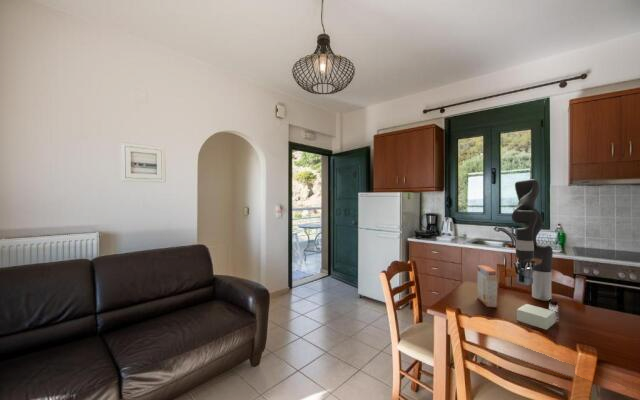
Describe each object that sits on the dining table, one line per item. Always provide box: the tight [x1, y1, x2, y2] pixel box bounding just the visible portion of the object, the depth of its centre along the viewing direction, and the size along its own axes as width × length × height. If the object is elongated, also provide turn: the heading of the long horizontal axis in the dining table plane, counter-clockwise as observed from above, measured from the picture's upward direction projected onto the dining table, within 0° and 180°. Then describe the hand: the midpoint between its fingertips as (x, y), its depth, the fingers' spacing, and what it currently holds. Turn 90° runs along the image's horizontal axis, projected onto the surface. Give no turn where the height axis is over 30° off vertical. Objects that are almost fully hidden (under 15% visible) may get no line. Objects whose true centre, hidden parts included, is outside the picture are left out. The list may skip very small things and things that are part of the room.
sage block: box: [516, 303, 556, 330], centre depth 136 cm, size 12×12×6 cm
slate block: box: [516, 268, 533, 286], centre depth 139 cm, size 5×5×7 cm
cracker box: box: [477, 264, 498, 308], centre depth 160 cm, size 14×6×21 cm, turn 168°
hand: (524, 281), depth 139 cm, fingers closed on slate block, 5 cm apart
